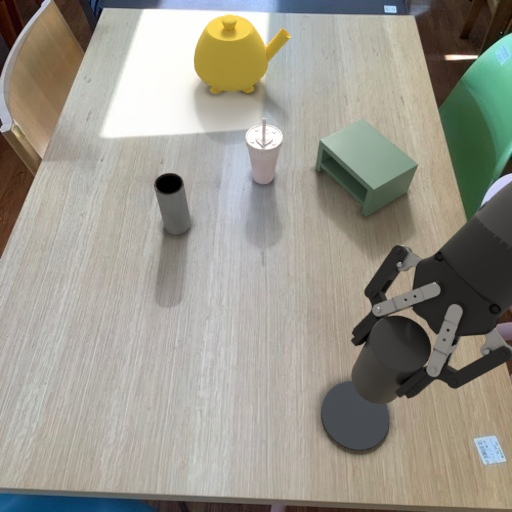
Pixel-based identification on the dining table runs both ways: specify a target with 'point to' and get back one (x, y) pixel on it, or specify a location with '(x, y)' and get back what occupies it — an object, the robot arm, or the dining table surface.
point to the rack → (366, 165)
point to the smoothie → (263, 150)
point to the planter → (172, 203)
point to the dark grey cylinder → (390, 358)
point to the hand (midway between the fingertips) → (377, 367)
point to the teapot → (234, 54)
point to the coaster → (353, 418)
